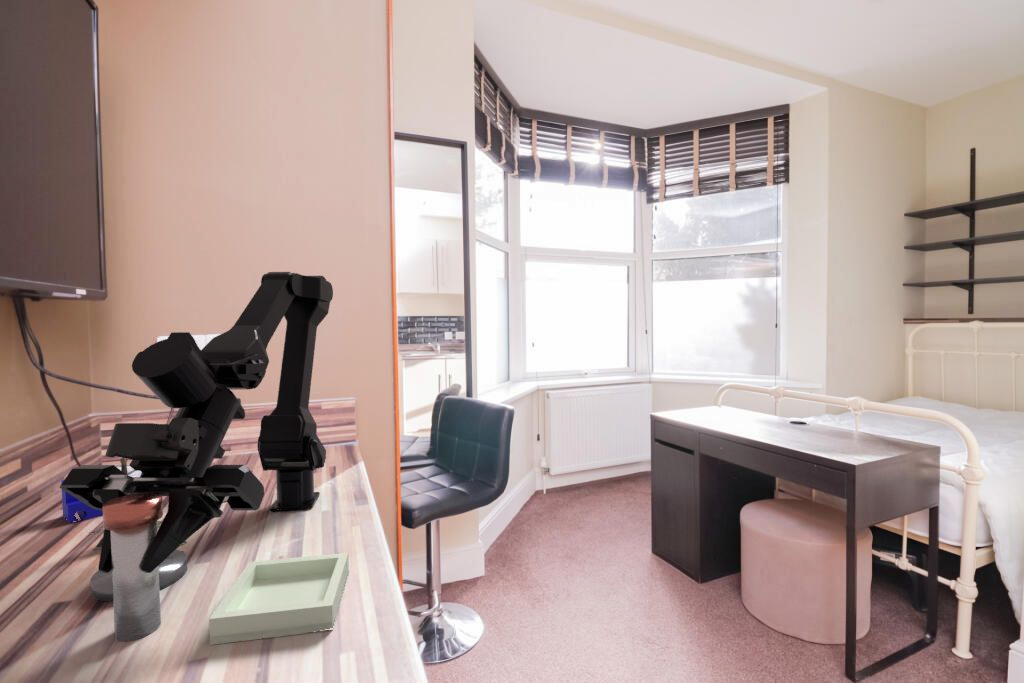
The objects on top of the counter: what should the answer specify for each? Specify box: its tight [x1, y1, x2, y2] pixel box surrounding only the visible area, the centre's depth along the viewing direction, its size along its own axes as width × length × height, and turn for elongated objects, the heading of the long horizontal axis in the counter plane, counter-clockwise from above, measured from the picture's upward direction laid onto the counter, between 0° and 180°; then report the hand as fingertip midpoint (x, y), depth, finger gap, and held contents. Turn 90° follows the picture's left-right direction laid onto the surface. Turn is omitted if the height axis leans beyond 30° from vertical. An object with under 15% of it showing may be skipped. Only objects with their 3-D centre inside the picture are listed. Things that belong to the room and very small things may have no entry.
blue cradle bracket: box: [60, 472, 142, 523], centre depth 79 cm, size 12×4×6 cm, turn 141°
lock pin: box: [102, 492, 164, 642], centre depth 48 cm, size 5×5×13 cm
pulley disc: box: [90, 549, 188, 602], centre depth 57 cm, size 9×9×2 cm
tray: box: [208, 552, 350, 646], centre depth 52 cm, size 11×11×2 cm
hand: (124, 571), depth 46 cm, fingers closed on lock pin, 4 cm apart
